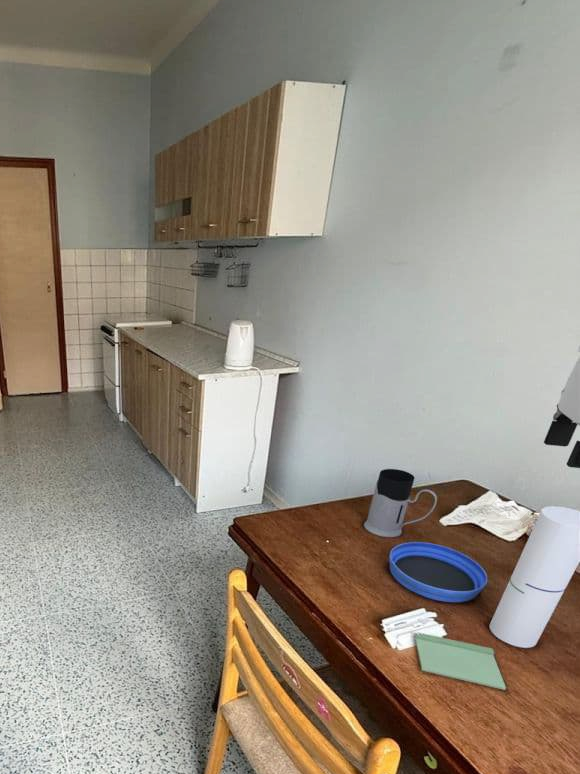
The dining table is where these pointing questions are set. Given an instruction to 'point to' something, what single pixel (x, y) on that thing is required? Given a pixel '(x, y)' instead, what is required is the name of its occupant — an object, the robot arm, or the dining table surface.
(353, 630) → the dining table surface
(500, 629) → the cylindrical container
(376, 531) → the glass holder
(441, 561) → the bowl
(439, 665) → the green flat panel
